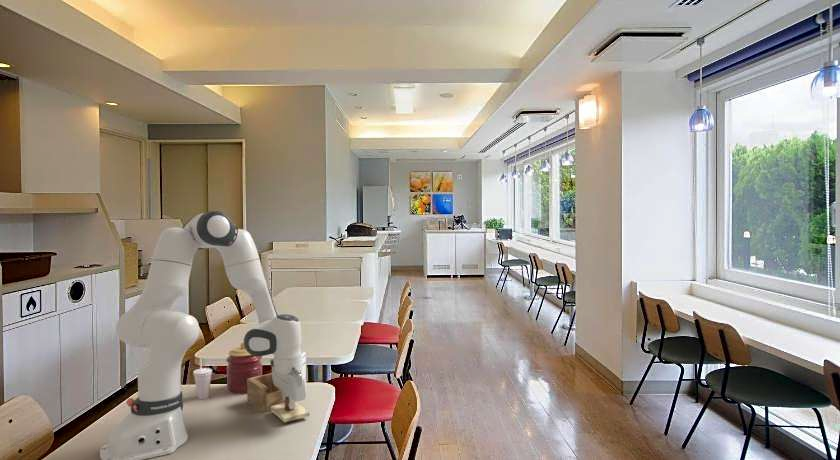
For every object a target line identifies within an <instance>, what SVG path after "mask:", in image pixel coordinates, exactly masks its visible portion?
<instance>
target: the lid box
mask: <svg viewBox="0 0 840 460" xmlns="http://www.w3.org/2000/svg"><path fill="white" fill-rule="evenodd" d="M246 394H247V397H246V398H247V402H248V403H249V405H250V404H251V406H252V407H254V408H256V409H257V410H258V411H260V412H261V413H263V414H266V413H267V414H268V413H270V412H272V411H271V410H270V406H274V405H278V404H282V403H283V396H282V391H281V390H280V389H278V388H277V387H276V386H274V384H273V380H272V372H270V373H267V374H262V375H261V376H257V377H252V378H248V379H247V393H246Z"/></svg>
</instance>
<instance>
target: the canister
mask: <svg viewBox="0 0 840 460" xmlns="http://www.w3.org/2000/svg"><path fill="white" fill-rule="evenodd" d="M228 355H229V356H227V358H226V360H225V361H226V362H227V367H226V378H227V379H226V380H227V382H226V388H227V391H228V392H229V393H232V394H238V395H239V394H241V395H242V394H247V379H248V378H252V377H257V376H261V375H263V363H262V360H261V359H263V356H253V355H251V354H249V353H248V352H247V350H246V349H245V347H244V341H243V342H241V343H240V346H235V347H234V348H232V349H231V350H230V351H229V352H228Z"/></svg>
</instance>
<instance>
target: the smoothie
mask: <svg viewBox="0 0 840 460" xmlns="http://www.w3.org/2000/svg"><path fill="white" fill-rule="evenodd" d="M202 364H203V363H202V358H200V359H199V368H198V369H197V368H196V369H195V370H193V373H192V375H193V376H194V381H195V382H194V383H195V387H196V388H195V389H196V394H197V399H200V400H205V399H207V398H209V397H210V390H211V389H210V388H211V380H212V374H213V369H212V368H210V367H209V368H207V367H204V368H203V367H202V366H203V365H202Z"/></svg>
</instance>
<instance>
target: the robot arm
mask: <svg viewBox="0 0 840 460" xmlns="http://www.w3.org/2000/svg"><path fill="white" fill-rule="evenodd" d="M211 248H215V249H216V250H217V251H218V252H219V253H220V255H221V258H222V260H223V266H224V268H225V269H224V271H225V273H226V277H227V278H228V282H229V283H230V285H231V286H232V287H233V288H235V289H236V290H238V291H241V292H244V293H245V294H247V295H248V296H249V297H250V298H251V301H252V304H253V307H254V309H255V312H256V315H257V318H258V319H257V320H258V324H257V325H256V326H254V327H253V328H251V329H250V330H248V331H247V332H246V333H245V335H244V336H243V337H244V338H243V342H244V347H245V349H246V350H247V352H248V353H249V354H251V355H253V356H262V357H263V356H268V355H273V358H271V359H270V360H269V361H270V362H269V364H270V366H271V373H272V380H273V384H274V386H276V387H277V388H278V389H280V390H281V391H282V396H283V403H284V404H285V397H286V396H289V399H290V400H289V403H288V407H289V408H290V409H294V408H295V402H297V403H298V402H301V401H304V400H306V397H307V392H306V391H307V387H306V388H305V380H304V377H303V375H301V374H300V370H302V349H301V346H302V340H303V338H302V337H303V336H302V326H301V322H300V319H298V317H296V316H295V315H292V314H285V313H283V314H278V312H277V310H276V306H275V304H274V300H273V297H272V294H271V291H270V288H269V286H268V283H267V281H266V278H265V274H264V271H263V267H262V263H261V259H260V256H259V253H258V248H257V246H256V244H255V241H254V239H253V238H252V234H251V233H250V232H249V231H248V230H245V229H242V228H238V226H237V225H236V224H235V223H234V222H233V220H232V219H231V218H230V217H229V215H227V214H226V213H225V212H223V211H220V210H219V211H218V210H210V211H209V210H208V211H206V212H203V213H200V214H197V215H196V216H194V217H192V218H191V219H189V220H188V221H187V222H186V223H185V224H183V226H182V227H180V226H179V227H176V226H174V227H173V226H172V227H169V228H165V229H164V230H163V231H162V232H161V234H160V236H159V238H158V241H157V243H156V245H155V248H154V251H153V254H152V258H151V263H150V267H149V271H148V274H147V277H146V281H145V285H144V287H143V290H142V292H141V294H140V295H139V297H138V299H137V301H135V303H134V305H133V306H132V307H131V308H129V309H128V310H127V311H126V312H124V313H123V314H121V316H120V317H119V318H118V320H117V323H116V327H115V331H116V336H117V338H118V339H119V340H120V341H121V342H123V343H125V344H128V345H130V346H133V347H137V348H145V349H146V348H148V349H149V350H150V354H149V358H148V361H147V362H146V363H144V364H143V365H142V366H141V367H140V368H139V370H138V371H137V390H138V391H137V394H138V396H137V398H136V399H134V398H133V397H130V398H129V397H128V399H127V400H126V405H127V406H128V407H130V412H129V414H127V415H126V416H125V417H124V418H123V419H122V420H121V421H119V422H118V423H117V424H116V425H114V427H113V428H112V429H111V431H110V434H109V439H108V443H107V444H104V445H102V446H101V448H100V450H99V459H100V460H147V459H151V458H155V457H160V456H165V455H170V454H172V453H174V452H175V451H176V449H178V448H179V447H181V446H182V445H184V444H185V443H186V442H187V441H188V439H189V434H188V432H187V429H186V425H185V421H184V415H183V408H184V396H183V391H182V390H181V389H182V388H181V386H182V385H181V369H182V363H183V359H184V357H185V354H186V352H187V351H188V350H189V349H190V348H191V347H192V346H193V345H194V344H195V343H196V341H197V340H198V337H199V335H200V326H199V325H200V324H199V321H198V320H197V318H196V317H195V316H193V315H191V314H187V313H185V312H183V311H177V310H176V311H175V310H170V309H171V308H172V306H173V304H174V302H176V301H177V299H180V297H182V296H183V295H185V293H186V292H187V290H188V285H189V282H190V276H191V271H192V266H193V261H194V256H195V254H196V252H197V251H198V250H205V249H211Z"/></svg>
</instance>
